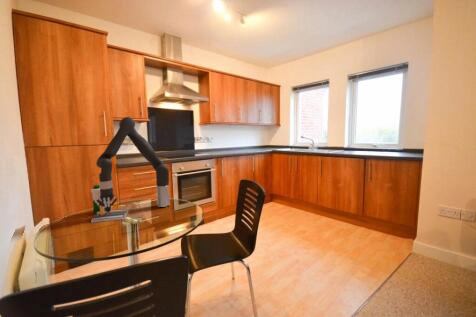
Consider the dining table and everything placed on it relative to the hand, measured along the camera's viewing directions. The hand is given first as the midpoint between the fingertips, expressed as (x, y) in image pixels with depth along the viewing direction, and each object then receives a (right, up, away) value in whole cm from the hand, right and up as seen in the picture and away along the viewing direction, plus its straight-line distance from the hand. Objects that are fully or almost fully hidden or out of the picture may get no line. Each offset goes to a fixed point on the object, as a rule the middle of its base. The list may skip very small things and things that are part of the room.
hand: (108, 211), depth 147 cm
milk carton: (-12, -3, +10) cm, 16 cm away
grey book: (+1, -3, +1) cm, 3 cm away
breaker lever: (-4, -2, -1) cm, 4 cm away
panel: (+1, -4, +1) cm, 4 cm away
